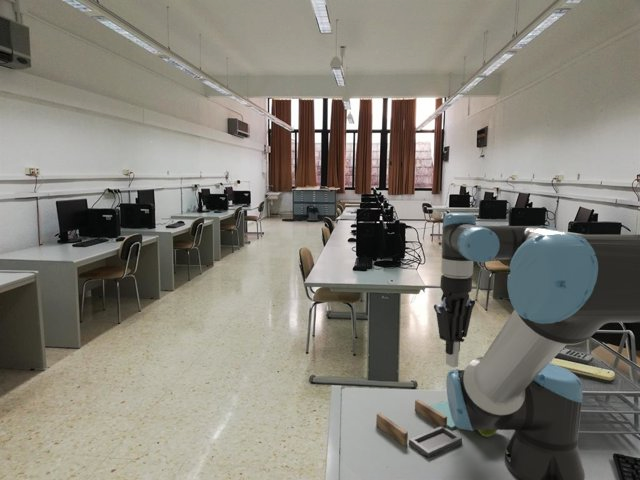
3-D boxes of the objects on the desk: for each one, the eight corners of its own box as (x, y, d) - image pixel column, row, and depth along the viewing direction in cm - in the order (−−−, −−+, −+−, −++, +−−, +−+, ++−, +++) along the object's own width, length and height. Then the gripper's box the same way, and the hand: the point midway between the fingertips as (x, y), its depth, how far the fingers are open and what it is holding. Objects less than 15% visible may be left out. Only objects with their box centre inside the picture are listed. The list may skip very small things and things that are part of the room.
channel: (446, 428, 106) (447, 416, 105) (404, 445, 98) (404, 433, 98) (417, 409, 114) (417, 399, 114) (376, 425, 107) (376, 413, 106)
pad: (478, 418, 110) (478, 416, 110) (451, 429, 105) (451, 427, 105) (447, 401, 119) (447, 399, 119) (421, 411, 113) (421, 409, 113)
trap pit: (462, 442, 100) (462, 437, 100) (428, 458, 94) (428, 453, 94) (442, 430, 105) (442, 425, 105) (408, 443, 99) (409, 439, 99)
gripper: (462, 270, 114) (457, 355, 117) (426, 275, 107) (422, 365, 110) (486, 275, 107) (480, 365, 110) (450, 281, 100) (445, 376, 104)
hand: (451, 365), depth 110 cm, fingers closed
